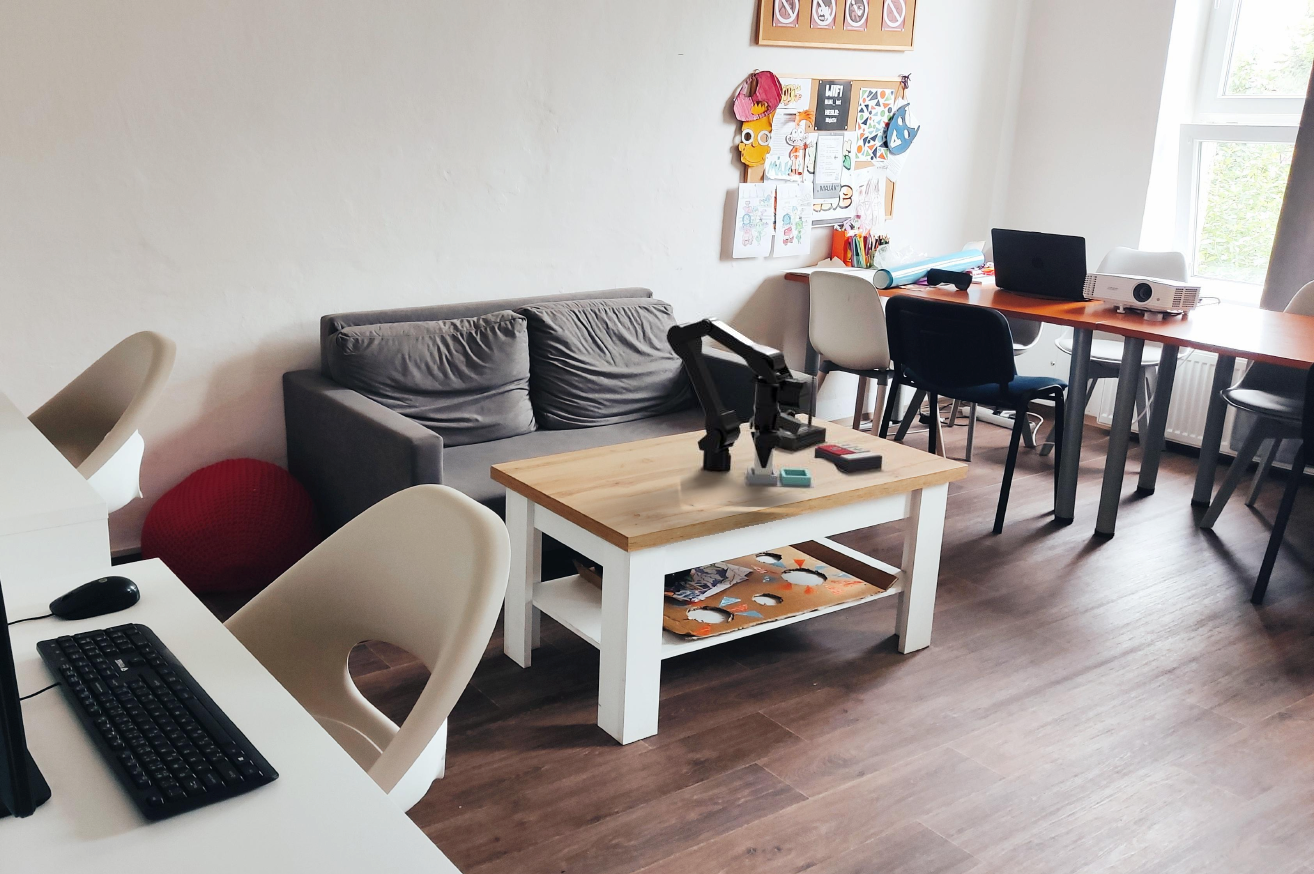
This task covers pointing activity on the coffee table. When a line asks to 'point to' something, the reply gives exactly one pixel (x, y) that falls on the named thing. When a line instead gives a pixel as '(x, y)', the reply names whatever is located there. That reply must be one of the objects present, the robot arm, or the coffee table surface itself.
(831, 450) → the calculator
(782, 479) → the compartment tray
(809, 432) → the black antenna base
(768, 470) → the plug
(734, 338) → the robot arm
